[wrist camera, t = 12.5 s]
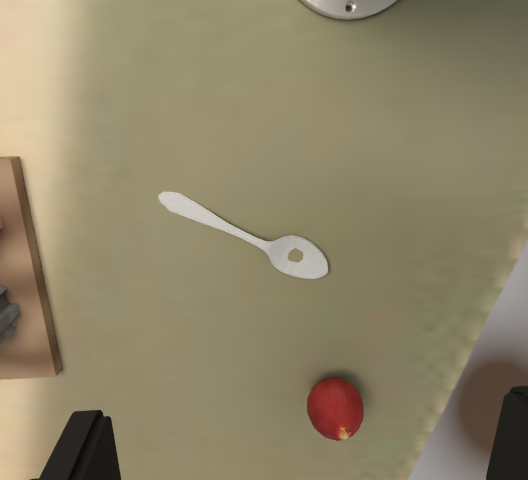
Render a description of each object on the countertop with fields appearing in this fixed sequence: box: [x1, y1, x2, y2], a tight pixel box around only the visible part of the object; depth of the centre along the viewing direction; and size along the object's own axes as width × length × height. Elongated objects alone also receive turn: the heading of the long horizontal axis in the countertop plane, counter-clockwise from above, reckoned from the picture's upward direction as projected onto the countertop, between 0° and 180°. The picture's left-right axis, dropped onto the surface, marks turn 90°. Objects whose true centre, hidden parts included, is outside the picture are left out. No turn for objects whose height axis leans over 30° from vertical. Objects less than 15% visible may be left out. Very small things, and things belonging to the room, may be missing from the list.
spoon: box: [159, 192, 328, 279], centre depth 39 cm, size 4×21×2 cm, turn 64°
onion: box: [307, 378, 364, 441], centre depth 43 cm, size 6×6×8 cm
